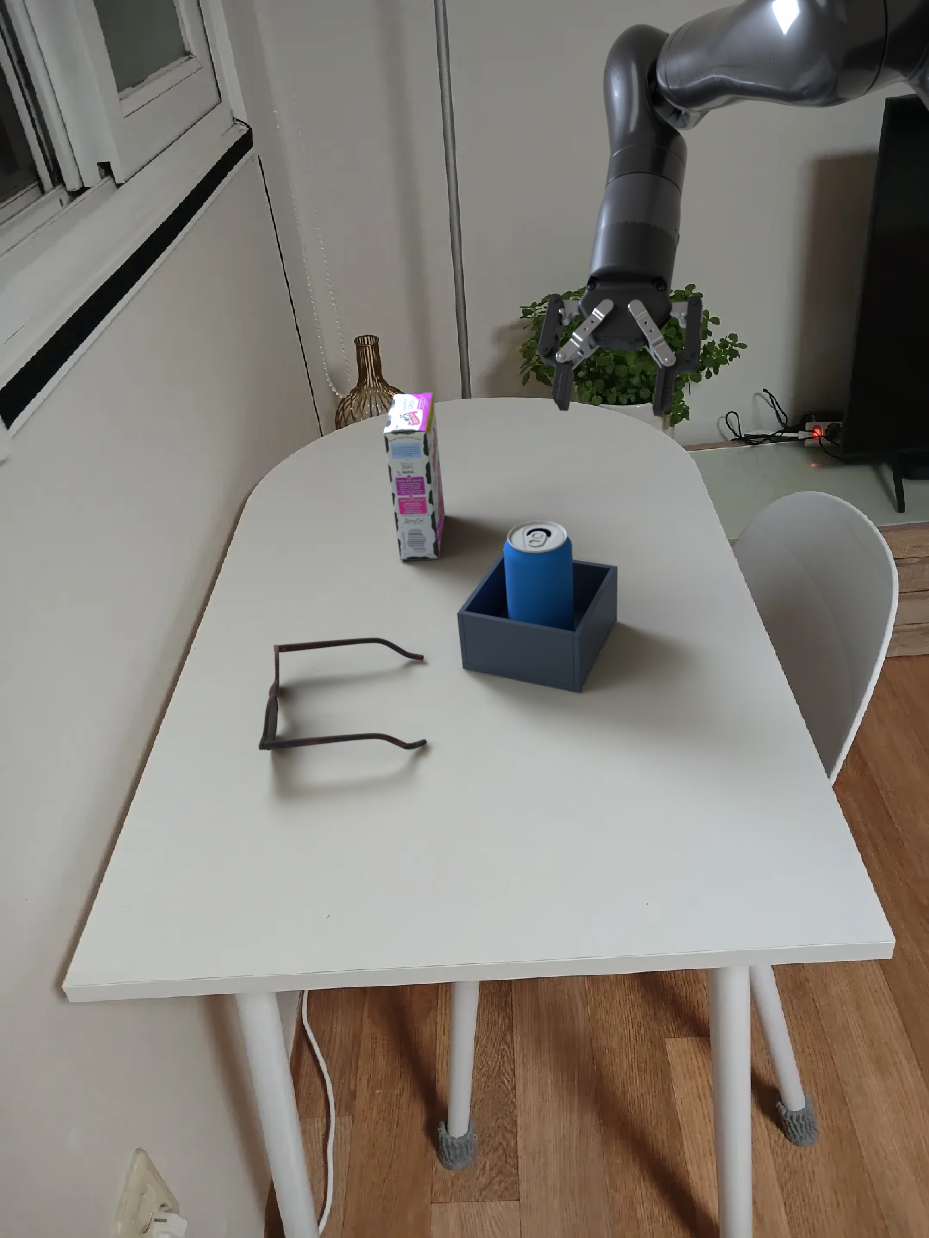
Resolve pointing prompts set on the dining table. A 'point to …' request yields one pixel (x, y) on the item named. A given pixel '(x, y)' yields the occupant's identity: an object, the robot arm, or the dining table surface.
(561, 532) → the beverage can
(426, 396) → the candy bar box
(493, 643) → the bin
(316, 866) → the dining table surface
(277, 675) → the eyeglasses
